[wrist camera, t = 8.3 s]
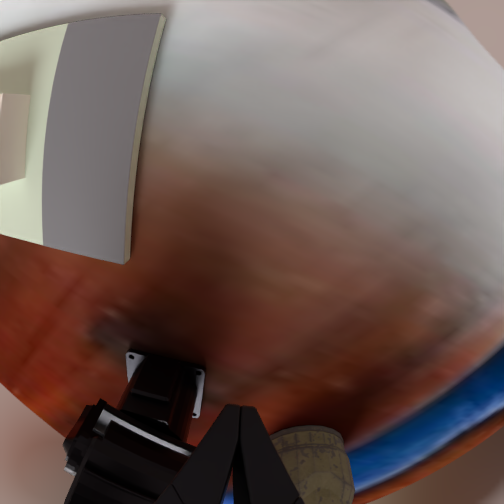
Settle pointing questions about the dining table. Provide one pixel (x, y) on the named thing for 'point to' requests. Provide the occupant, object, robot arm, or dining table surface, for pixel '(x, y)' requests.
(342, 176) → the dining table surface
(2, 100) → the cream block
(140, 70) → the mats
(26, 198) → the board
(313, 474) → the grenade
